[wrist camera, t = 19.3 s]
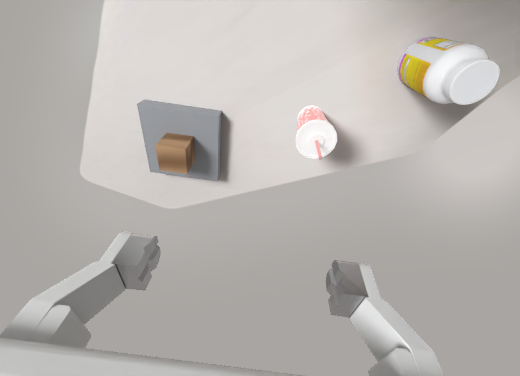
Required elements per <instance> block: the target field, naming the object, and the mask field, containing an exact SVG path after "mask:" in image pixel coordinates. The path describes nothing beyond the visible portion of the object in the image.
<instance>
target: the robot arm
mask: <svg viewBox="0 0 520 376" xmlns="http://www.w3.org/2000/svg"><path fill="white" fill-rule="evenodd" d="M157 243H158V239H157V237H156V236H150V235H143V234H137V233H130V232H123V231H122V232H121V233H119V234H118V236H117V237H116V238H115V240H114V241H113V242H112V244H111V245H110V247H109V248H108V249H107V251H106V252H105V254H104V255H103V256H102V258H101V259H100V260H99V262H94V263H92V264H90V265H88V266H87V267H85V268H83V269H82V270H80V271H78V272H77V273H75V274H73V275H72V276H70V277H68V278H66V279H65V280H63V281H61V282H60V283H58V284H56V285H55V286H53V287H51V288H49V289H48V290H46V291H45V292H43V293H41V294H40V295H38V296H36V297H34V298H32V299H31V300H30V301H29V302H28V303H27V304H26V306H25V307H24V308H23V309H22V310H21V311H20V312H19V314H18V315H17V316H16V317H15V318H14V320H13V321H12V322H11V323H10V324H9V325H8V326H7V328H6V329H5V330H4V331H3V333H1V335H0V376H302V375H294V374H287V373H279V372H271V371H263V370H254V369H246V368H239V367H231V366H223V365H215V364H207V363H199V362H191V361H182V360H174V359H167V358H158V357H151V356H143V355H134V354H127V353H118V352H111V351H103V350H94V349H87V348H85V347H86V345H87V343H88V341H89V340H90V338H91V334H90V332H89V331H88V329H87V328H86V327H85V326H84V324H85V323H87V322H88V321H89V320H90V319H91V318H92V317H94V316H95V315H96V314H97V313H98V312H100V311H101V310H102V309H103V308H104V307H106V306H107V305H108V304H109V303H110V302H111V301H113V300H114V299H115V298H116V297H117V296H119V295H120V294H121V293H122V292H123V291H124V290H125V288H126V289H136V290H145V289H146V287H147V285H148V283H149V281H150V279H151V271H152V270H154V269H155V268H156V266H157V264H158V262H159V258H160V247H158V246H157ZM326 287H327V291H328V292H329V294H330V295H331V296H330V298H329V306H330V312H331V315H337V316H343V317H349V318H350V320H351V322H352V323H353V325H354V326H355V328H356V329H357V331H358V332H359V334H360V335H361V337H362V338H363V340H364V341H365V343H366V344H367V346H368V347H369V349H370V350H371V352H372V353H373V355H374V356H375V358H376V359H377V361H378V363H377V364H375V365H374V366H373V367H372V368H371V369H370V370H369V376H444V374H443V372H442V369H441V367H440V365H439V363H438V360H437V358H436V356H435V353H434V352H433V350H432V349H431V348H430V347H429V346H428V345H427V344H426V343H425V342H424V341H423V340H422V339H421V338H420V337H419V336H418V335H417V333H416V332H415V331H414V330H413V329H412V328H411V327H410V326H409V325H408V324H407V323H406V322H405V321H404V320H403V319H402V317H401V316H400V315H399V314H398V313H397V312H396V311H395V310H394V309H393V308H392V307H391V306H390V305H389V304H388V303H387V302H386V301H385V300H383V299H381V297H380V293H379V291H378V288H377V285H376V282H375V280H374V276H373V273H372V271H371V268H370V266H369V265H368V264H361V263H356V262H347V261H339V260H335V261H333V263H332V269H330V270H329V271H328V273H327V277H326Z"/></svg>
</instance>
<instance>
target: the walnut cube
mask: <svg viewBox="0 0 520 376" xmlns="http://www.w3.org/2000/svg"><path fill="white" fill-rule="evenodd" d="M155 147H156V153H157V159H158V165H159V170H162V171H169V172H176V173H183V174H188V172H189V170H190V168H191V166H192V165H193V163H194V161H195V147H194V136H188V135H181V134H174V133H166V134H165V135H164V136H163V137H162V138H161V139H160V141H159V142H158V143H157V144H156V145H155Z"/></svg>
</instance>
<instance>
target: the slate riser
mask: <svg viewBox="0 0 520 376" xmlns="http://www.w3.org/2000/svg"><path fill="white" fill-rule="evenodd" d="M137 106H138V111H139V116H140V121H141V126H142V132H143V137H144V142H145V147H146V152H147V157H148V162H149V167H150V172H156V173H163V174H170V175H177V176H184V177H191V178H198V179H205V180H213V181H218V179H219V176H220V156H221V112H222V111H218V110H212V109H205V108H198V107H191V106H184V105H177V104H170V103H164V102H157V101H150V100H143V101H141V102H140V103H138V104H137ZM166 133H174V134H181V135H188V136H194V147H195V161H194V163H193V165H192V166H191V168H190V170H189V172H188V174H183V173H176V172H169V171H162V170H159V165H158V159H157V153H156V147H155V145H156V144H157V143H158V142H159V141H160V139H161V138H162V137H163V136H164V135H165V134H166Z"/></svg>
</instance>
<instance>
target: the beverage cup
mask: <svg viewBox="0 0 520 376" xmlns="http://www.w3.org/2000/svg"><path fill="white" fill-rule="evenodd" d="M295 141H296V147H297V149H298V151H299V152H300V153H301V154H302V155H304V156H305V157H307V158H313V159H316V158H319V159H322V157H324V156H326V155H328V154H329V153H330V152H331V151H332V150H333V149H334V148H335V145H336V143H337V132H336V131H335V129H334V127H333V126H332V124H330V123H329V122H328V120H327V119H326V117H325V115H324V114H323V112H322V110H321V109H320V108H318V107H317V106H307V107H305V108H303V109H302V110H301V111H300V113H299V115H298V121H297V135H296V140H295Z"/></svg>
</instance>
